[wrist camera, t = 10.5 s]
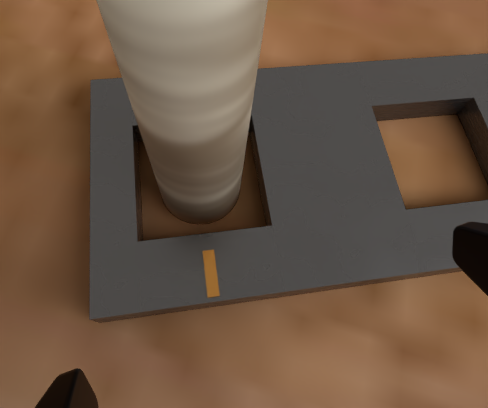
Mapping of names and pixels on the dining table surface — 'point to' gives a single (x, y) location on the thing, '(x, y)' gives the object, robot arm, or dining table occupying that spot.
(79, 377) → the robot arm
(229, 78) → the birch peg
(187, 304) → the steel plate
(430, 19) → the dining table surface
